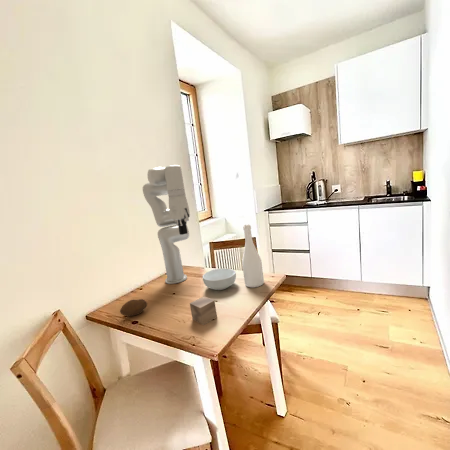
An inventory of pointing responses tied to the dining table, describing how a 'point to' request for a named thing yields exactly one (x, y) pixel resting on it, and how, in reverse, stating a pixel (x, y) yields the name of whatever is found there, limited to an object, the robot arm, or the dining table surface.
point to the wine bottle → (251, 261)
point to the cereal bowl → (219, 278)
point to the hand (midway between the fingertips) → (183, 233)
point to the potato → (133, 307)
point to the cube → (203, 310)
